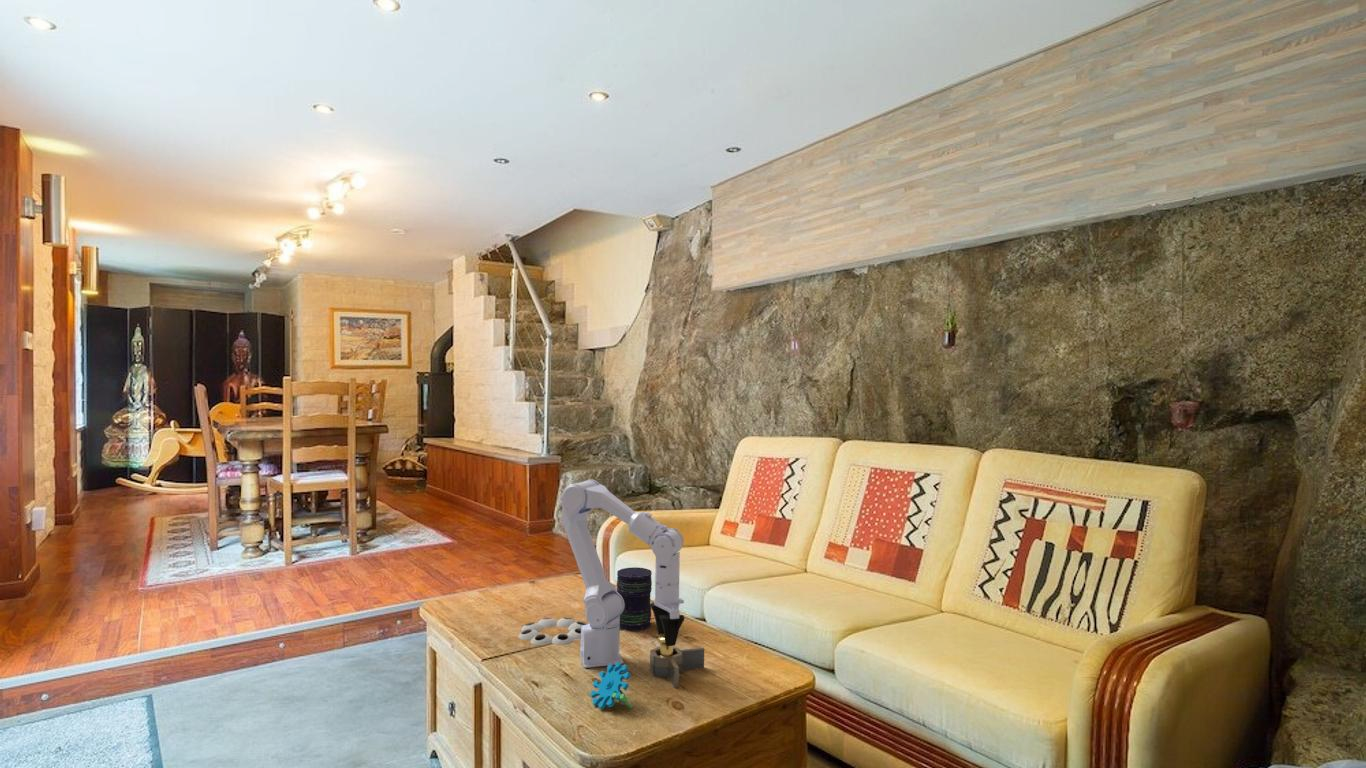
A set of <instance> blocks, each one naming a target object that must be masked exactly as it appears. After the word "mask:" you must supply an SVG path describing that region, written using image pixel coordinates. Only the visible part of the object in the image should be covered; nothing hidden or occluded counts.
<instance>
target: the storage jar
mask: <svg viewBox="0 0 1366 768" xmlns="http://www.w3.org/2000/svg"><path fill="white" fill-rule="evenodd" d="M652 574H653V573H652V570H650V569H648V568H644V567H625V568H621V569H619V570H617V574H616V575H617V577H616V578H617V579H616V590H617V592H618V593H619V594H620V595H621V596H622V598H623V600H624V604H625V606H624V610H623V612H622V613H621V614H620V630H622V631H624V630H626V631H625V632H641V630H642V631H645V629H646V630H649V629H650V628H651V626H652V624H651V621H652V608H651V606H650V604H651V594H652V593H651V592H652V590H653V589H652V584H653V583H652V582H653V581H652Z"/></svg>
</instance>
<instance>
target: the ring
mask: <svg viewBox="0 0 1366 768" xmlns="http://www.w3.org/2000/svg"><path fill="white" fill-rule="evenodd" d="M587 624H588V623H586V622H584V621H576V620H575V619H573V618H571V617H562V618H560V619H559V620H556V619H554V618H553V617H547V618H546V617H545V618H541V619H540V620H538V622H535V621H534V622H533V621H532V622H529V623H525V624H524V625H523V626H522V628H521V629H520V631H521V632H520V633H519V634H518V635H517V637H518V639H520V640H521V641H530V644H532V645H534V646H547V645H550V644H553V645H556V646H566V645H570V644H572V643H574V641H575V640H581V633H579V632H581V626H583V625H587ZM553 627H558V628H567V629H568V630H567V631H568V633H559V634H556V635H554V636H553V637H552V636H550V635H549V634H547V633H540V632H541V631H542V630H544V629H545V628H546V629H547V628H549V629H550V628H553ZM543 628H544V629H543ZM536 638H538V640H537V639H536ZM539 638H541V639H540V640H539ZM559 638H566V639H559Z"/></svg>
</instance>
